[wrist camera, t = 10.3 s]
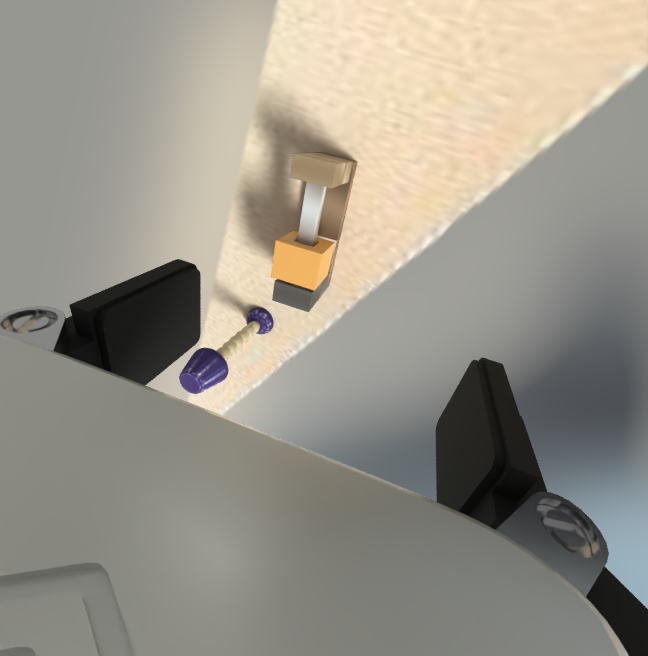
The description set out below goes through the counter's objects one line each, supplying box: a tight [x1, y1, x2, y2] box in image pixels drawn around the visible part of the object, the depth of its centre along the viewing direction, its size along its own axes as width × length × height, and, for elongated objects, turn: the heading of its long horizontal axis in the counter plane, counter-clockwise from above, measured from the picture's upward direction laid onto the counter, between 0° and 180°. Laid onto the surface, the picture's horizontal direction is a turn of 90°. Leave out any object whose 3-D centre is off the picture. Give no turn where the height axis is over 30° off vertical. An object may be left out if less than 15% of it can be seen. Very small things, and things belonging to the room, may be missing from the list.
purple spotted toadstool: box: [179, 308, 273, 394], centre depth 42 cm, size 5×5×17 cm
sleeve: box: [271, 230, 335, 291], centre depth 35 cm, size 4×5×5 cm
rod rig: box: [272, 152, 357, 312], centre depth 36 cm, size 15×4×8 cm, turn 168°
